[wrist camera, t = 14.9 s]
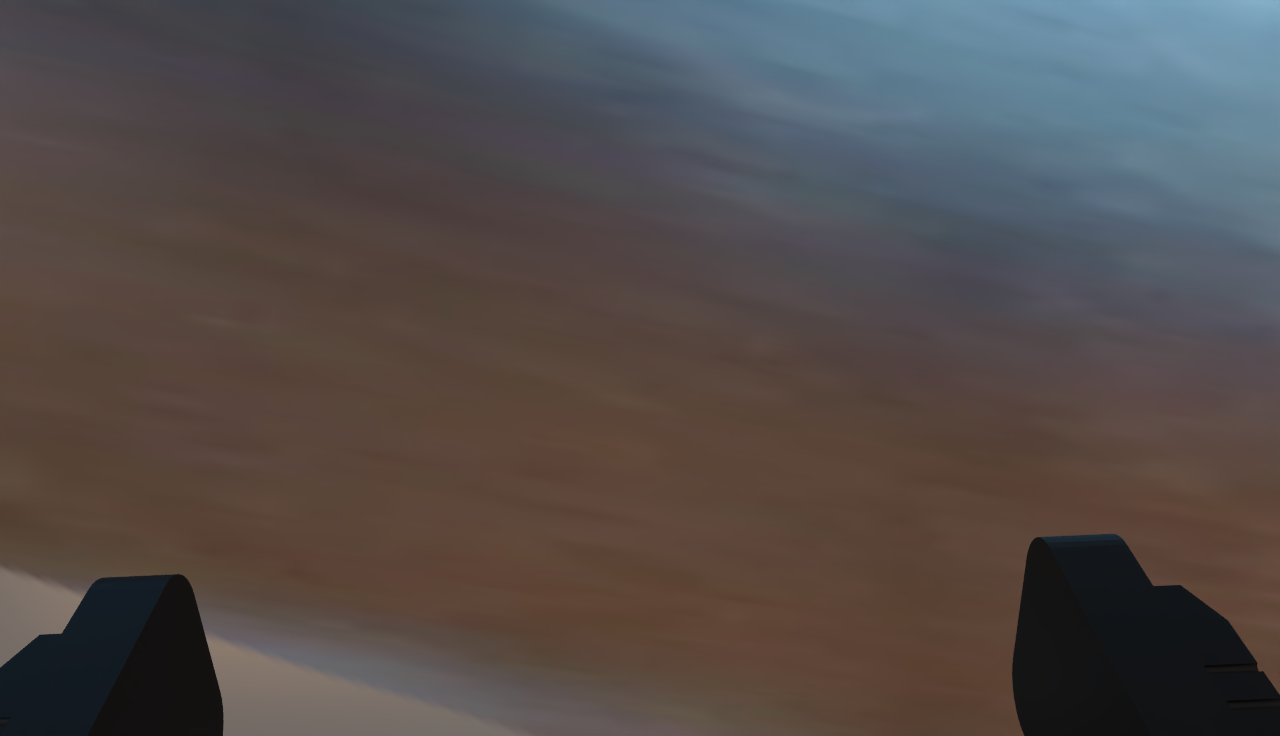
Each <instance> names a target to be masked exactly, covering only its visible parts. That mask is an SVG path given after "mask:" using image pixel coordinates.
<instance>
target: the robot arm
mask: <svg viewBox="0 0 1280 736" xmlns="http://www.w3.org/2000/svg"><path fill="white" fill-rule="evenodd" d="M1012 680H1013V692H1014V700H1015V705H1016V711H1017V715H1018V719H1019V722H1020V726H1021V728H1022V731H1023V734H1024V736H1280V695H1279V693H1278V692H1277V690H1276V689H1275V688H1274V686H1273V685H1272V683H1271V682H1270V680H1269V679H1268V678H1267V676H1266V675H1265V673H1264V672H1263V671H1261V672H1259V671H1258V668H1257V662H1256V660H1255V659H1254V657H1253V656H1252V655H1251V653H1250V652H1249V650H1248V649H1247V647H1246V646H1245V644H1244V643H1243V642H1242V640H1241V639H1240V637H1239V636H1238V634H1237V633H1236V631H1235V630H1234V629H1233V627H1232V626H1231V624H1230V623H1229V621H1228V620H1227V619H1225V618H1224V617H1222V616H1221V615H1220V614H1218V613H1217V612H1216V611H1214V610H1213V609H1212V608H1210V607H1209V606H1208V605H1206V604H1205V603H1204V602H1202V601H1201V600H1200V599H1198V598H1197V597H1196V596H1194V595H1193V594H1192V593H1190V592H1189V591H1188V590H1186V589H1185V588H1183V587H1182V586H1181V585H1171V586H1153V585H1152V584H1151V582H1150V580H1149V579H1148V577H1147V576H1146V574H1145V572H1144V571H1143V569H1142V568H1141V566H1140V565H1139V563H1138V561H1137V560H1136V558H1135V557H1134V555H1133V554H1132V552H1131V550H1130V549H1129V547H1128V546H1127V544H1126V543H1125V542H1124V540H1123V539H1122V538H1121V537H1120V536H1118V535H1116V534H1099V535H1077V536H1055V537H1037V538H1035V539H1034V540H1033V541H1032V542H1031V544H1030V547H1029V550H1028V554H1027V559H1026V567H1025V574H1024V582H1023V589H1022V596H1021V604H1020V611H1019V618H1018V626H1017V633H1016V641H1015V648H1014V655H1013V665H1012ZM0 736H223V705H222V698H221V693H220V689H219V685H218V682H217V678H216V674H215V670H214V667H213V663H212V660H211V656H210V652H209V648H208V644H207V641H206V637H205V633H204V629H203V626H202V622H201V618H200V614H199V611H198V607H197V603H196V599H195V596H194V592H193V589H192V587H191V585H190V583H189V581H188V580H187V578H185V577H184V576H183V575H180V574H174V575H152V576H130V577H108V578H100V579H98V580H96V581H95V582H94V583H93V584H92V586H91V587H90V588H89V590H88V591H87V593H86V595H85V596H84V598H83V600H82V601H81V603H80V605H79V606H78V608H77V610H76V611H75V613H74V615H73V616H72V618H71V619H70V621H69V623H68V624H67V626H66V628H65V629H64V631H63V633H62V634H47V635H39V636H38V637H37V638H35V639H34V640H33V641H32V642H31V643H29V644H28V645H27V646H26V647H25V648H23V649H22V650H21V651H20V652H19V653H17V654H16V655H15V656H14V657H13V658H11V659H10V660H9V661H8V662H7V663H5V664H4V665H3V666H2V667H1V668H0Z"/></svg>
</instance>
